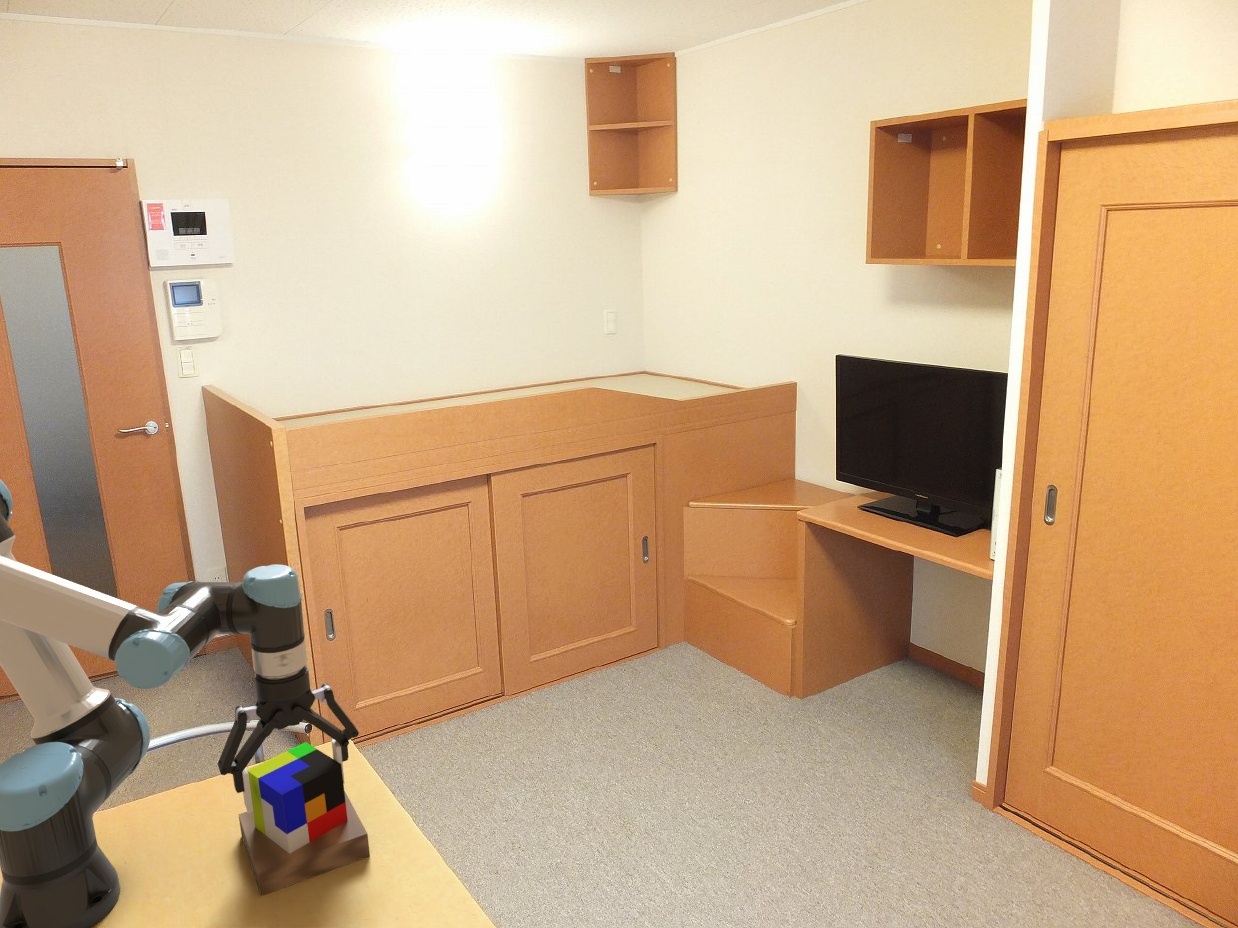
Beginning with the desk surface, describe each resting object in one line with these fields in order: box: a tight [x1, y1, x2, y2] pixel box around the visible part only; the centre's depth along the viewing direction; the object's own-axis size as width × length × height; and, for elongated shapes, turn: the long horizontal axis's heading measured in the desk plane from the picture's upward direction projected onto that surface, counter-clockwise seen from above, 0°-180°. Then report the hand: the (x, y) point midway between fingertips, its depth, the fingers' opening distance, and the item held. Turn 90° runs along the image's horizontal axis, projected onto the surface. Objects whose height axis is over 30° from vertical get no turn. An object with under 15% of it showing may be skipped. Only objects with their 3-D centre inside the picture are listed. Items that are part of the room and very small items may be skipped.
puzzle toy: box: [247, 741, 348, 854], centre depth 143 cm, size 10×10×10 cm
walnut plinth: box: [237, 790, 371, 897], centre depth 145 cm, size 16×16×4 cm
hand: (295, 793), depth 143 cm, fingers open, 13 cm apart
